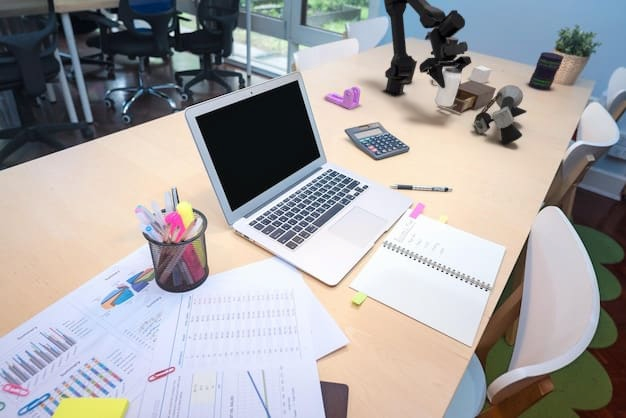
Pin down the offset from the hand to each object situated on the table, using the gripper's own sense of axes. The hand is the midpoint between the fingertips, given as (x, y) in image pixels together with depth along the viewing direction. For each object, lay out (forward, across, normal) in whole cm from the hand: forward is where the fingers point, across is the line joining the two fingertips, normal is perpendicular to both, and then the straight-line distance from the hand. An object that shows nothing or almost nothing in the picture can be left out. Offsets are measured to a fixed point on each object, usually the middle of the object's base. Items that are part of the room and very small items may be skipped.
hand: (451, 87), depth 136 cm
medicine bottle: (-16, +30, +36) cm, 50 cm away
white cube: (-16, +53, +36) cm, 66 cm away
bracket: (-9, -28, +29) cm, 41 cm away
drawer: (+1, +16, +17) cm, 23 cm away
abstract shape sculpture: (+16, +19, +3) cm, 25 cm away
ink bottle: (-37, +58, +58) cm, 90 cm away
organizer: (-1, +28, +20) cm, 35 cm away
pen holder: (-21, +13, +41) cm, 48 cm away
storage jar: (-6, +80, +26) cm, 84 cm away
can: (+4, 0, +6) cm, 7 cm away
